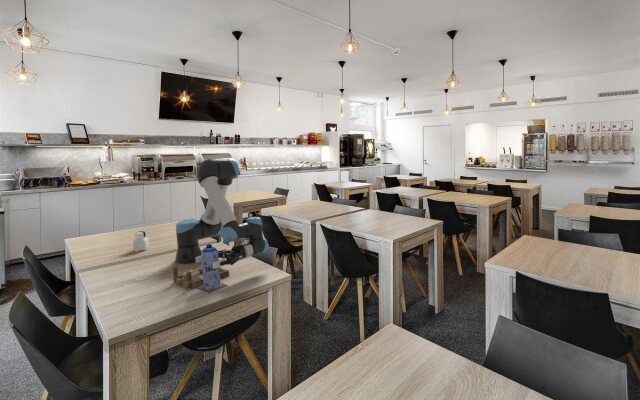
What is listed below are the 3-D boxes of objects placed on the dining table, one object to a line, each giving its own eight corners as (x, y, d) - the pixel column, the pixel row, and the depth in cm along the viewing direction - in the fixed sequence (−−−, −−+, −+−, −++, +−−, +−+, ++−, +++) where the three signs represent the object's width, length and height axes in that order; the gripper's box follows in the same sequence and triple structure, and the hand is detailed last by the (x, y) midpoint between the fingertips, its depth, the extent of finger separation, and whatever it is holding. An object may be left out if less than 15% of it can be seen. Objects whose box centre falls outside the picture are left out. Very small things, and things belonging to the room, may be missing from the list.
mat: (196, 287, 161) (196, 286, 161) (215, 281, 169) (215, 280, 169) (208, 292, 155) (208, 292, 155) (227, 285, 163) (227, 284, 163)
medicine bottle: (138, 248, 230) (136, 230, 229) (149, 247, 231) (147, 230, 229) (134, 251, 223) (132, 233, 222) (145, 250, 224) (143, 232, 222)
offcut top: (183, 278, 167) (182, 273, 166) (191, 274, 171) (190, 270, 171) (192, 279, 164) (192, 274, 164) (200, 276, 169) (199, 271, 168)
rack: (174, 282, 168) (172, 266, 167) (213, 269, 185) (212, 255, 184) (189, 289, 160) (188, 272, 159) (229, 275, 177) (228, 260, 175)
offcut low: (182, 283, 168) (182, 277, 168) (194, 279, 173) (193, 274, 172) (190, 286, 164) (189, 280, 163) (201, 283, 168) (201, 277, 168)
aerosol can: (202, 290, 157) (199, 247, 154) (203, 283, 165) (200, 243, 162) (220, 287, 159) (217, 245, 156) (220, 281, 167) (217, 241, 164)
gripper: (258, 263, 167) (221, 276, 151) (227, 254, 183) (190, 265, 166) (257, 248, 166) (219, 259, 149) (226, 240, 181) (189, 250, 165)
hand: (204, 262), depth 158 cm, fingers open, 13 cm apart
